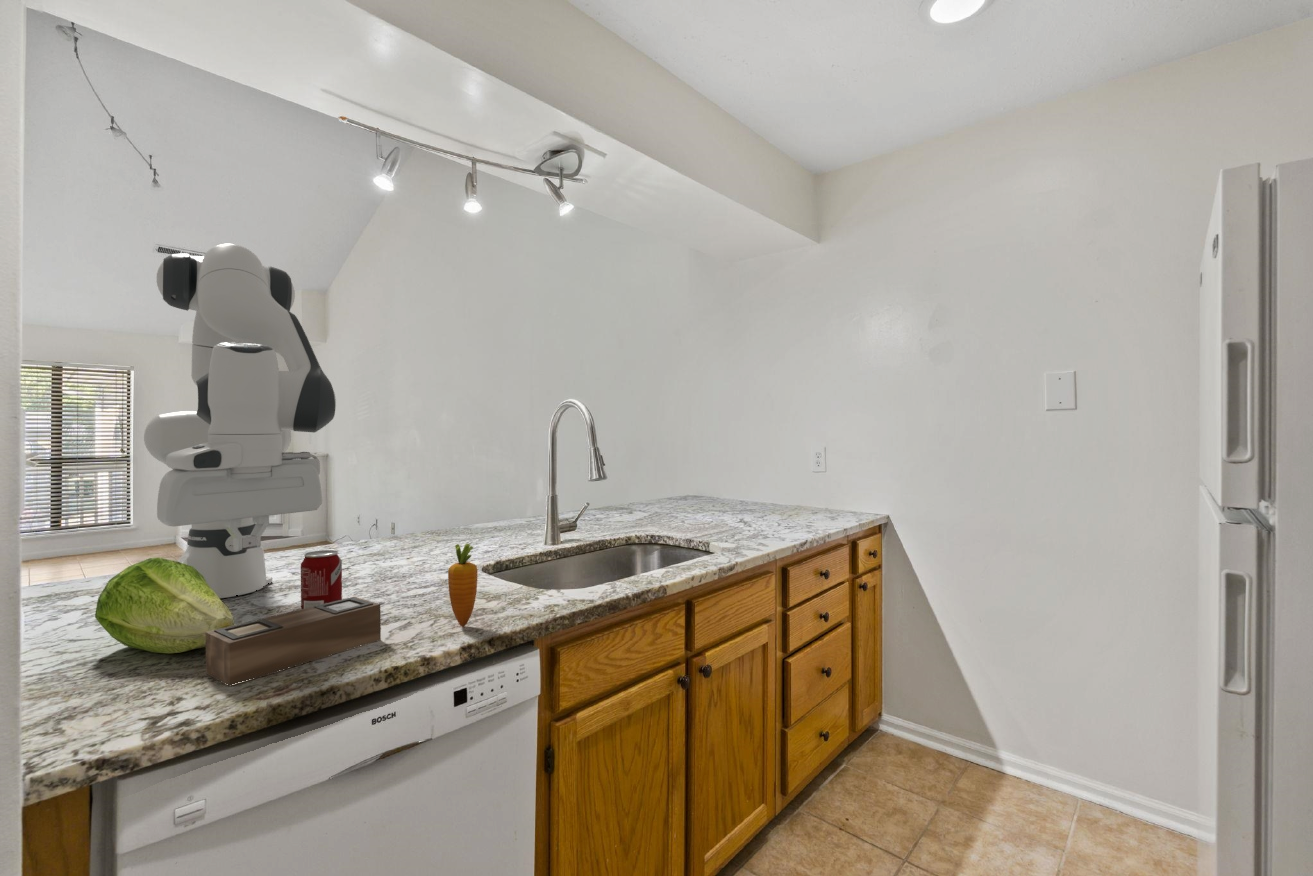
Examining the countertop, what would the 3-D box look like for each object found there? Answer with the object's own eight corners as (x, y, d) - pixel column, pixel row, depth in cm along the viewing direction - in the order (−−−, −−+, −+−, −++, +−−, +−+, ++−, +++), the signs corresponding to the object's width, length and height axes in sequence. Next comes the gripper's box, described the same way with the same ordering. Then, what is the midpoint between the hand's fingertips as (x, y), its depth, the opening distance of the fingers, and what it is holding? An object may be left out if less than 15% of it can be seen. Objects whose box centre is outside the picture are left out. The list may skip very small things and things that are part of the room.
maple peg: (227, 671, 88) (227, 630, 88) (258, 663, 91) (257, 623, 91) (239, 678, 86) (239, 636, 86) (270, 669, 89) (270, 628, 89)
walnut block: (206, 673, 87) (205, 630, 87) (354, 630, 106) (354, 595, 105) (229, 686, 83) (229, 641, 83) (380, 639, 101) (380, 602, 101)
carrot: (448, 624, 109) (447, 541, 109) (476, 621, 111) (476, 539, 111) (448, 632, 104) (448, 546, 104) (478, 629, 106) (478, 544, 106)
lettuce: (277, 652, 99) (169, 697, 85) (194, 619, 109) (88, 655, 96) (271, 566, 97) (161, 599, 83) (188, 542, 108) (79, 567, 94)
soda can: (324, 623, 110) (323, 557, 109) (292, 620, 111) (291, 555, 111) (350, 612, 116) (349, 549, 116) (319, 610, 118) (319, 548, 117)
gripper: (309, 450, 98) (310, 535, 99) (151, 456, 81) (153, 558, 82) (329, 451, 95) (330, 539, 95) (169, 458, 78) (170, 564, 78)
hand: (247, 548), depth 88 cm, fingers closed
